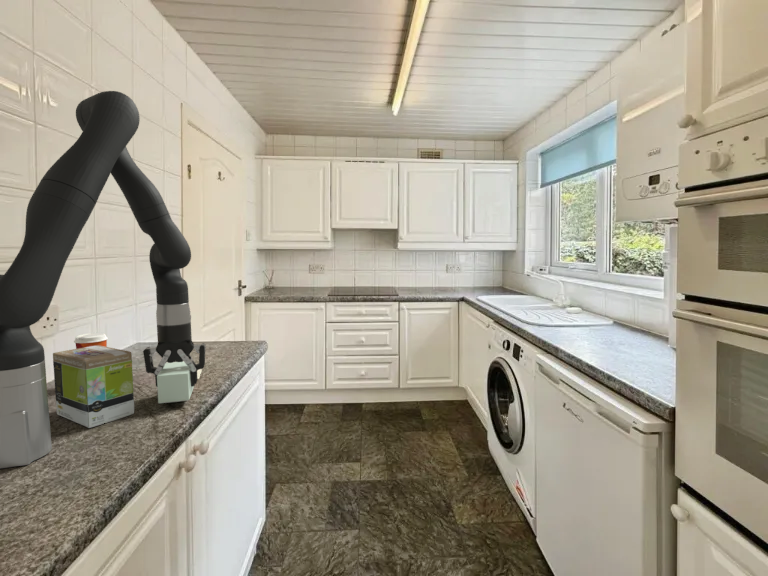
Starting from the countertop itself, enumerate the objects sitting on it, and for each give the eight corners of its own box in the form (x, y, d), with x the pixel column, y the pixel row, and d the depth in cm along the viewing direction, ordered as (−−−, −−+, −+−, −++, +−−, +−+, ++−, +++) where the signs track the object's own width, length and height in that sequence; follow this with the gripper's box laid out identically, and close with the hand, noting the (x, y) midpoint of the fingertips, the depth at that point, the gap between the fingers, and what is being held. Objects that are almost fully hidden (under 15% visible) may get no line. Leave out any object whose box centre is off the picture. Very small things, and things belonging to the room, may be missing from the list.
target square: (199, 379, 121) (199, 378, 121) (168, 382, 119) (168, 381, 119) (201, 369, 131) (201, 369, 131) (173, 372, 128) (173, 371, 128)
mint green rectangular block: (189, 400, 101) (187, 373, 100) (158, 403, 99) (156, 376, 98) (194, 384, 112) (193, 360, 111) (167, 387, 110) (165, 362, 109)
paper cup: (93, 390, 112) (90, 338, 111) (69, 388, 113) (66, 337, 112) (117, 381, 120) (114, 332, 118) (95, 379, 121) (91, 331, 120)
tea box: (136, 413, 97) (133, 350, 95) (88, 430, 88) (83, 361, 87) (102, 401, 104) (98, 342, 103) (55, 415, 96) (50, 351, 94)
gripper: (137, 325, 98) (141, 395, 99) (204, 322, 102) (207, 388, 104) (144, 320, 105) (148, 385, 106) (206, 317, 109) (209, 379, 111)
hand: (177, 386), depth 105 cm, fingers closed on mint green rectangular block, 6 cm apart
